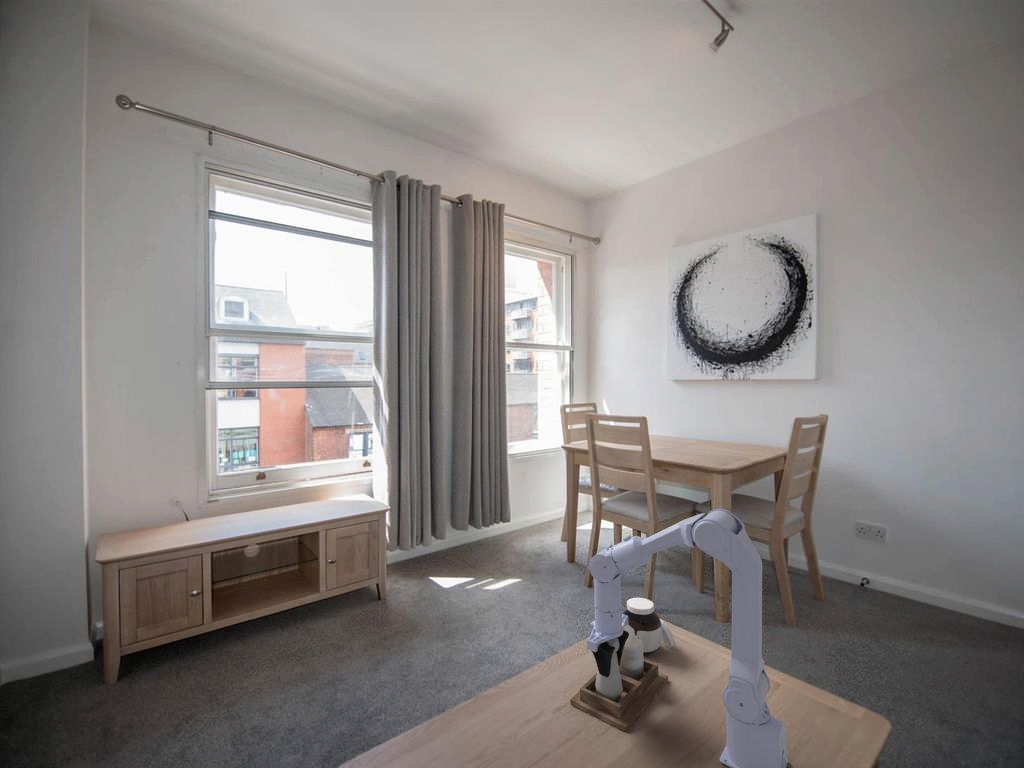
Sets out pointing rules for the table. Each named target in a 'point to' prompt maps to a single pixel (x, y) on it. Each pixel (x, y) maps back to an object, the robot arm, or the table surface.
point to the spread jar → (647, 625)
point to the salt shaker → (611, 677)
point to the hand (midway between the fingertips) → (609, 670)
